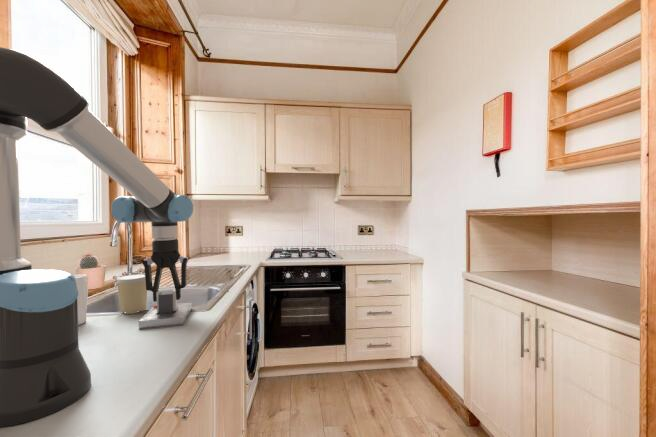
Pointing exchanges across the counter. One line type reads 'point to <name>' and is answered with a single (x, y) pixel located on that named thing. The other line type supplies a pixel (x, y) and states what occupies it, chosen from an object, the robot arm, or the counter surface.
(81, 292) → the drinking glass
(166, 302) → the plug
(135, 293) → the coffee cup
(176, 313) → the socket plate
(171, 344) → the counter surface
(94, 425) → the counter surface
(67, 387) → the robot arm
